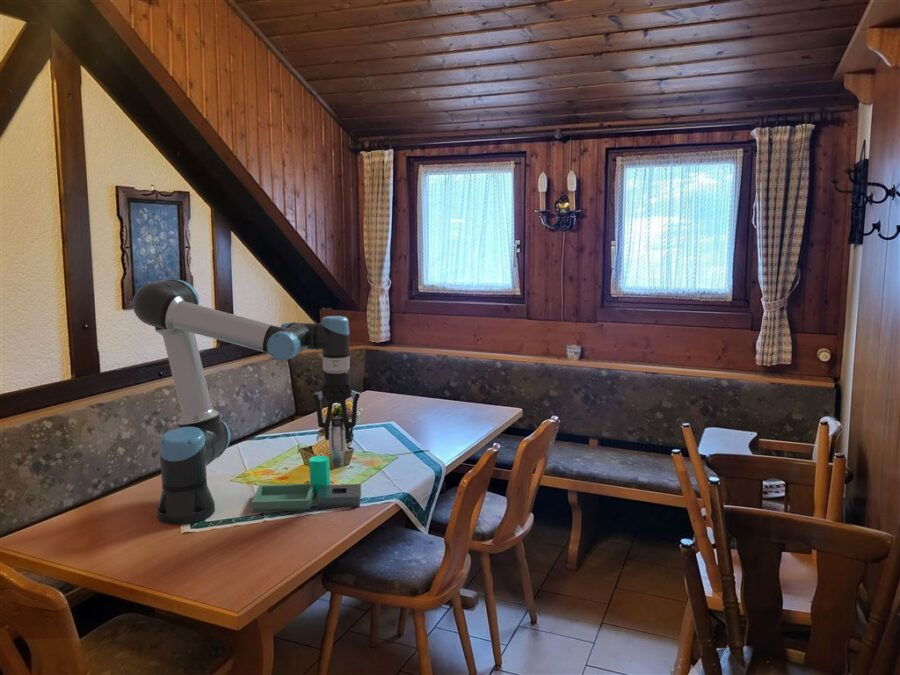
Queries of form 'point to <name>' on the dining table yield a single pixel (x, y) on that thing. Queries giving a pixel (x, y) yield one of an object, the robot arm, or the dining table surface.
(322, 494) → the block
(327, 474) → the candle
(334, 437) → the pin
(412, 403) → the dining table surface
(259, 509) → the tray
